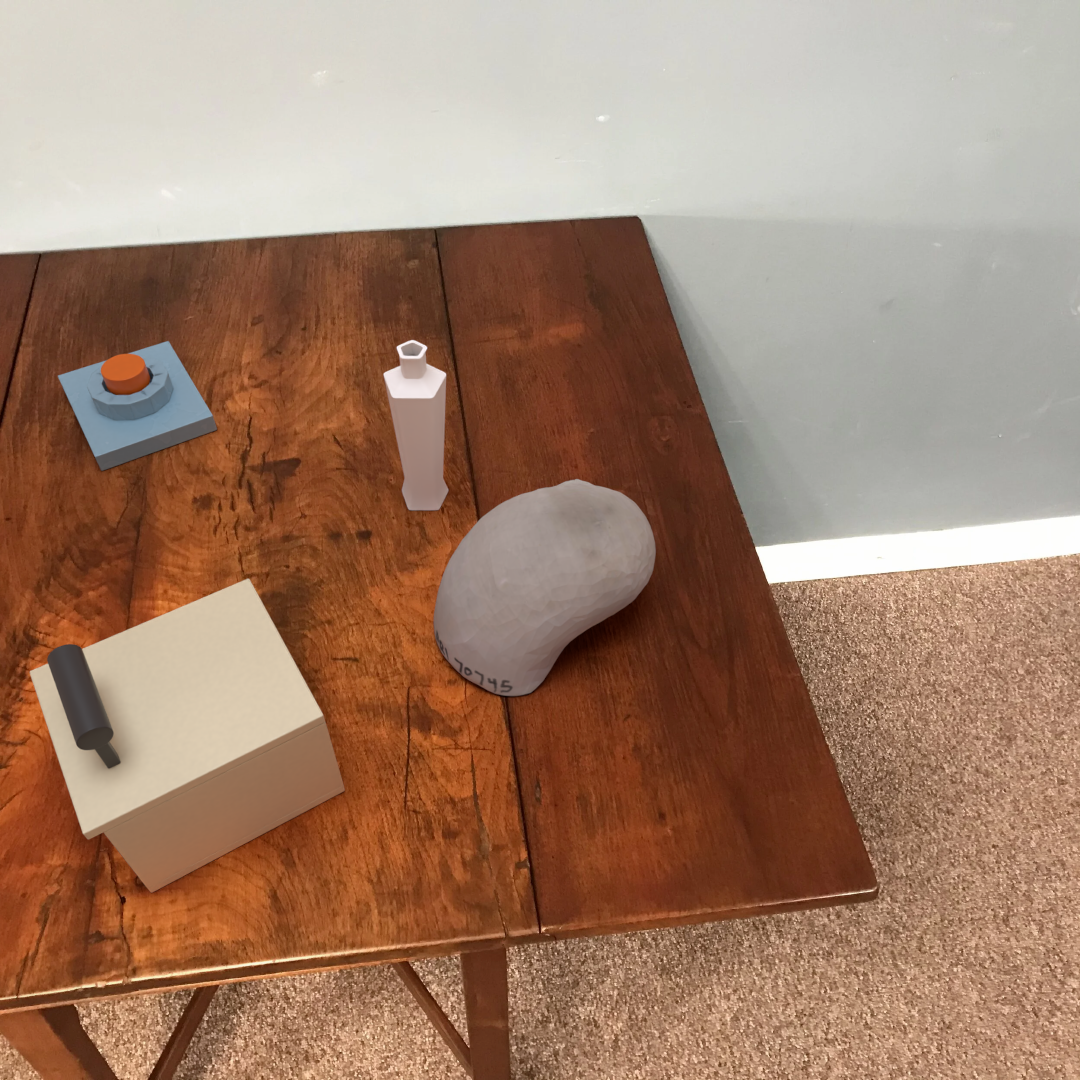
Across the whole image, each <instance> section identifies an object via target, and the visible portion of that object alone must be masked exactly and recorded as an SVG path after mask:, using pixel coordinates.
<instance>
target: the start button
mask: <svg viewBox="0 0 1080 1080" xmlns="http://www.w3.org/2000/svg"><path fill="white" fill-rule="evenodd" d="M106 360H107V361H106ZM106 360H105V361H106V362H105V363H104V364H103V365H102V367H101V374H102V377H103V379H104V381H105V384H106V386H107V389H108V390H109V391H110V392H111V393H112V394H115V395H131V394H134V393H137V392H140V391H142V390H143V389H144V388H145V387H147V386H148V385H149V383H150V375H149V372H148V370H147V367H146V364H145V361H144V360H143V359H142V358H141V357H140V356H138V355H135V354H128V353H121V354H117V355H114V356H112V357H109V358H108V359H106Z"/></svg>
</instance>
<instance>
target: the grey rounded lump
mask: <svg viewBox="0 0 1080 1080" xmlns="http://www.w3.org/2000/svg"><path fill="white" fill-rule="evenodd" d="M656 553H657V548H656V541H655V535H654V533H653V530H652V526H651V524H650V522H649V520H648V519H647V516H646V514H645V513H644V512H643V511H642V509H641V508H640V507H639V505H638V504H637V503H636V502H635V501H633V499H631V498H630V497H628V496H627V495H625V494H624V493H622V492H621V491H617V490H613V489H611V488H609V487H605V486H601V485H594V484H592V483H591V482H588V481H585V480H582V479H578V478H576V479H570V480H566V481H563V482H561V483H560V484H557V485H554V486H550V487H549V486H548V487H542V488H537V489H535V490H533V491H529V492H524V493H521V494H519V495H516V496H513V497H511V498H509V499H507V500H505V501H503V502H502V503H499V504H498V505H497V506H495V507H494V508H492V509H490V510H489V511H488V512H487V513H486V514H484V515H483V516H482V517H481V518H480V519H479V520H478V521H477V522H476V523H475V524H474V525H473V527H471V529H470V530H469V531H468V532H467V533H466V535H465V536H464V537H463V538H462V540H461V541H460V542H459V544H458V546H457V547H456V549H455V550H454V552H453V553H452V555H451V557H450V558H449V560H448V563H447V565H446V566H445V569H444V571H443V574H442V577H441V581H440V583H439V586H438V590H437V594H436V599H435V606H434V610H433V633H434V638H435V641H436V644H437V646H438V649H439V650H440V652H441V654H442V655H443V656H444V658H445V660H446V661H447V662H448V663H449V664H450V665H451V667H453V669H455V671H457V672H458V673H459V674H460V675H461V676H462V677H463V678H465V679H466V680H468V681H469V682H472V683H473V684H475V685H477V686H479V687H481V688H483V689H484V690H486V691H488V692H491V693H492V694H496V695H500V696H503V697H518V696H524V695H528V694H531V693H532V692H533V691H535V690H536V689H537V688H538V687H539V686H540V685H541V684H542V683H543V682H544V681H545V678H546V677H547V676H548V674H549V673H550V672H551V670H552V668H553V666H554V664H555V663H556V662H557V659H558V658H559V657H560V655H561V653H562V652H563V651H564V649H565V648H566V647H567V646H568V645H569V644H570V643H571V642H572V641H574V639H576V638H577V637H578V636H580V635H582V634H583V633H584V632H586V631H587V630H589V629H591V628H592V627H594V626H596V625H597V624H600V623H601V622H603V621H605V620H606V619H608V618H609V617H612V616H614V615H616V614H617V613H618V612H619V611H621V610H623V609H624V608H626V607H627V606H629V604H631V603H633V602H634V601H635V600H636V599H637V597H638V596H639V594H640V593H641V592H642V591H643V590H644V588H645V587H646V586H647V585H648V584H649V582H650V578H651V577H652V575H653V573H654V572H653V571H654V567H655V562H656Z"/></svg>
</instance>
